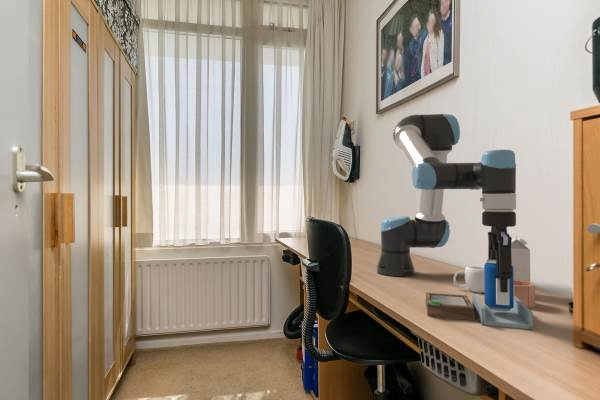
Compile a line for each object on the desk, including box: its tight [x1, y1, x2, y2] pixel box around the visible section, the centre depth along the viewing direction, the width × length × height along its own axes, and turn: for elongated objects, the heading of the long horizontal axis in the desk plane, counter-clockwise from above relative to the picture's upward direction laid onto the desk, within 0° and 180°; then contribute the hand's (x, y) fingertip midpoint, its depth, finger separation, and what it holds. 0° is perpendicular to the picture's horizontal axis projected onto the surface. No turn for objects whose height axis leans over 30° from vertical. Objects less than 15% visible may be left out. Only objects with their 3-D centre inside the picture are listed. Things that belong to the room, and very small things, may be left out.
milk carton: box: [511, 233, 531, 282], centre depth 109 cm, size 7×7×19 cm
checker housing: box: [425, 292, 475, 321], centre depth 93 cm, size 12×11×4 cm
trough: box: [471, 292, 534, 331], centre depth 87 cm, size 14×11×4 cm
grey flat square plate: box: [431, 295, 467, 306], centre depth 93 cm, size 8×8×1 cm
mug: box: [453, 265, 484, 294], centre depth 113 cm, size 12×8×8 cm
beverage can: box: [483, 259, 514, 311], centre depth 87 cm, size 6×6×12 cm
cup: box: [514, 280, 536, 309], centre depth 99 cm, size 8×8×6 cm
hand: (499, 300), depth 87 cm, fingers closed on beverage can, 6 cm apart
